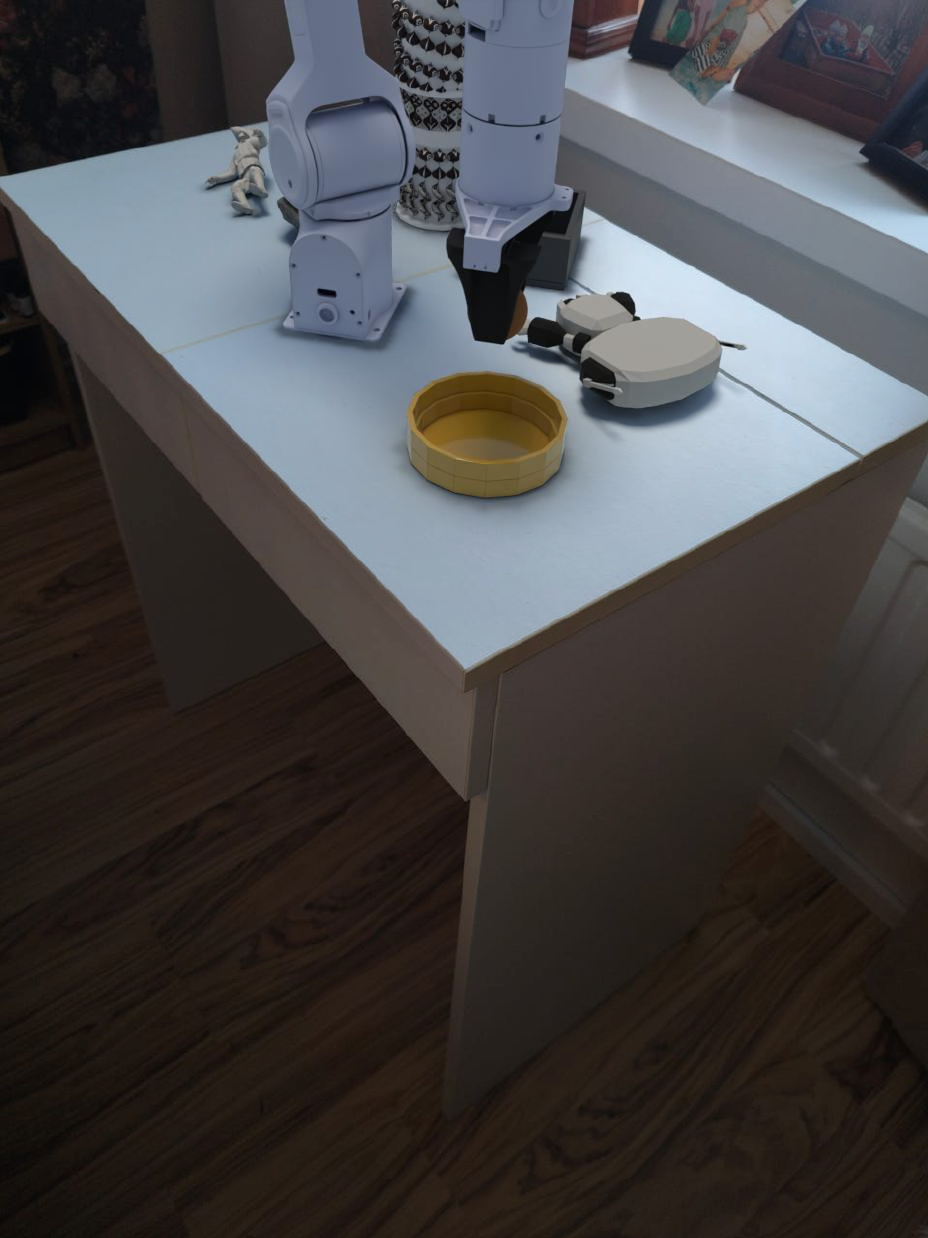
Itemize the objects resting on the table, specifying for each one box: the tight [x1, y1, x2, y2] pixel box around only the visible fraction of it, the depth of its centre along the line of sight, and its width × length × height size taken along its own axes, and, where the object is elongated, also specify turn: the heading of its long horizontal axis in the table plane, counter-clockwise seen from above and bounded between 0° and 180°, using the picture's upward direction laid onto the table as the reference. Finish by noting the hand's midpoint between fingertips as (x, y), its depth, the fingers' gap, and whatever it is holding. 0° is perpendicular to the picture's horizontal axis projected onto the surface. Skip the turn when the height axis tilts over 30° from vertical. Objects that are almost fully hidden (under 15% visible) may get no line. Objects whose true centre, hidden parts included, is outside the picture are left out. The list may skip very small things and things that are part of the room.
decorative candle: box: [390, 0, 465, 232], centre depth 89 cm, size 9×9×25 cm
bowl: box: [406, 370, 569, 499], centre depth 70 cm, size 11×11×3 cm
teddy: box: [466, 241, 529, 341], centre depth 65 cm, size 4×4×7 cm
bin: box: [463, 188, 587, 291], centre depth 90 cm, size 10×9×5 cm
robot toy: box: [516, 290, 748, 409], centre depth 78 cm, size 12×4×15 cm
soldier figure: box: [204, 126, 269, 215], centre depth 98 cm, size 8×5×12 cm
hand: (496, 323), depth 67 cm, fingers closed on teddy, 4 cm apart
